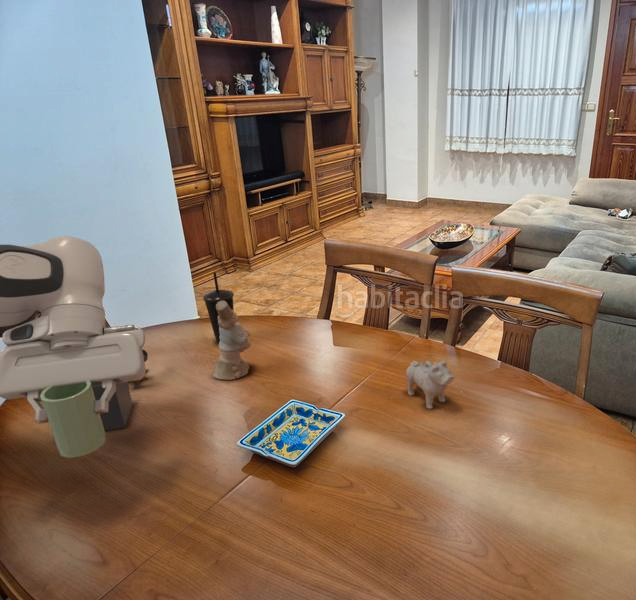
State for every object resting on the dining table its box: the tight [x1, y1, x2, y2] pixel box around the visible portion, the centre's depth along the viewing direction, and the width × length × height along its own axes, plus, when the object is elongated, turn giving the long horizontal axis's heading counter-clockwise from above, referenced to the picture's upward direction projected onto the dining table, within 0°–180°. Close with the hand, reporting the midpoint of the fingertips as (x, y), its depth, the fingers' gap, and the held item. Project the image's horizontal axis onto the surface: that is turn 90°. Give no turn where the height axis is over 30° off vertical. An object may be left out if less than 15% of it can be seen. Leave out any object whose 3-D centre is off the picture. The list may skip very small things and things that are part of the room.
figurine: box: [212, 301, 251, 381], centre depth 120 cm, size 9×8×20 cm
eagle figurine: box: [127, 349, 149, 390], centre depth 120 cm, size 8×7×9 cm
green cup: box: [40, 381, 107, 459], centre depth 78 cm, size 6×6×10 cm
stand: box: [92, 382, 133, 432], centre depth 104 cm, size 11×9×16 cm
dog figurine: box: [405, 360, 455, 410], centre depth 109 cm, size 5×13×11 cm, turn 39°
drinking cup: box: [202, 271, 235, 346], centre depth 135 cm, size 8×8×20 cm
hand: (72, 417), depth 77 cm, fingers closed on green cup, 6 cm apart
